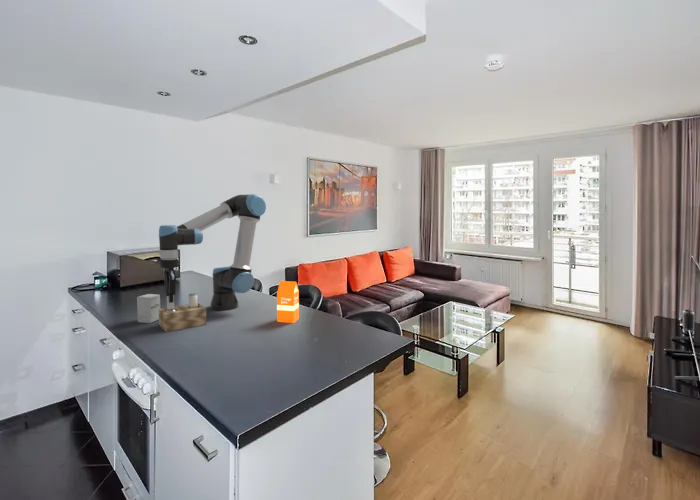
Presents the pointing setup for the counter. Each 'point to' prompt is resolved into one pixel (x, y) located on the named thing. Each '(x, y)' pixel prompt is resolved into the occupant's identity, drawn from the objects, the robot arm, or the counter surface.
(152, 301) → the supplement box
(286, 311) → the orange juice
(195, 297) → the cream peg
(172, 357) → the counter surface
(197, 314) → the oak socket block
